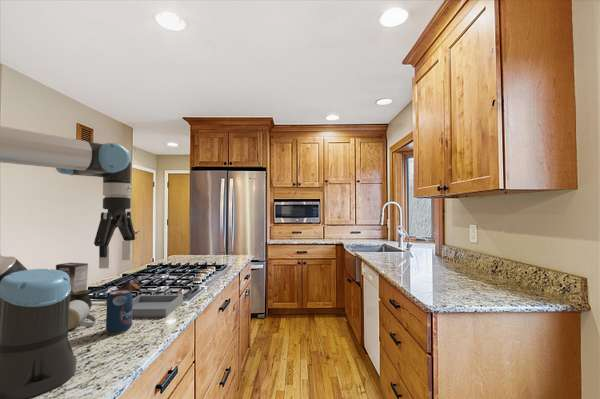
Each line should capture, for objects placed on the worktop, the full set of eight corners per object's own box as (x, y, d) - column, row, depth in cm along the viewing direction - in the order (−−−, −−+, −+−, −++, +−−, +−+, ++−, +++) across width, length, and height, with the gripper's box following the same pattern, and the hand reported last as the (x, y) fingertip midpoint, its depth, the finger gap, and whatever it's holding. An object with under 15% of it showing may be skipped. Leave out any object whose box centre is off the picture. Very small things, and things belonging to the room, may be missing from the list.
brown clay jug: (139, 302, 122) (128, 286, 120) (119, 312, 122) (107, 297, 120) (150, 288, 134) (140, 273, 132) (131, 297, 134) (121, 282, 132)
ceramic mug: (50, 333, 89) (52, 307, 90) (62, 324, 97) (64, 300, 97) (91, 329, 93) (92, 305, 93) (99, 320, 100) (101, 298, 101)
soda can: (126, 334, 89) (127, 294, 89) (101, 335, 88) (102, 295, 88) (135, 325, 96) (136, 288, 96) (112, 326, 95) (113, 289, 95)
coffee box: (53, 305, 116) (54, 264, 117) (68, 300, 123) (69, 262, 123) (72, 306, 115) (74, 265, 116) (87, 301, 121) (88, 262, 122)
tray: (165, 317, 103) (165, 308, 103) (113, 318, 102) (113, 309, 102) (183, 301, 121) (183, 294, 121) (138, 302, 120) (138, 295, 120)
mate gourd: (91, 314, 106) (91, 287, 106) (64, 319, 101) (65, 290, 102) (92, 309, 112) (92, 283, 112) (66, 313, 107) (67, 286, 108)
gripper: (108, 195, 81) (107, 271, 81) (145, 198, 106) (145, 256, 105) (79, 195, 80) (78, 272, 80) (123, 198, 105) (123, 257, 105)
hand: (116, 263), depth 93 cm, fingers open, 13 cm apart
